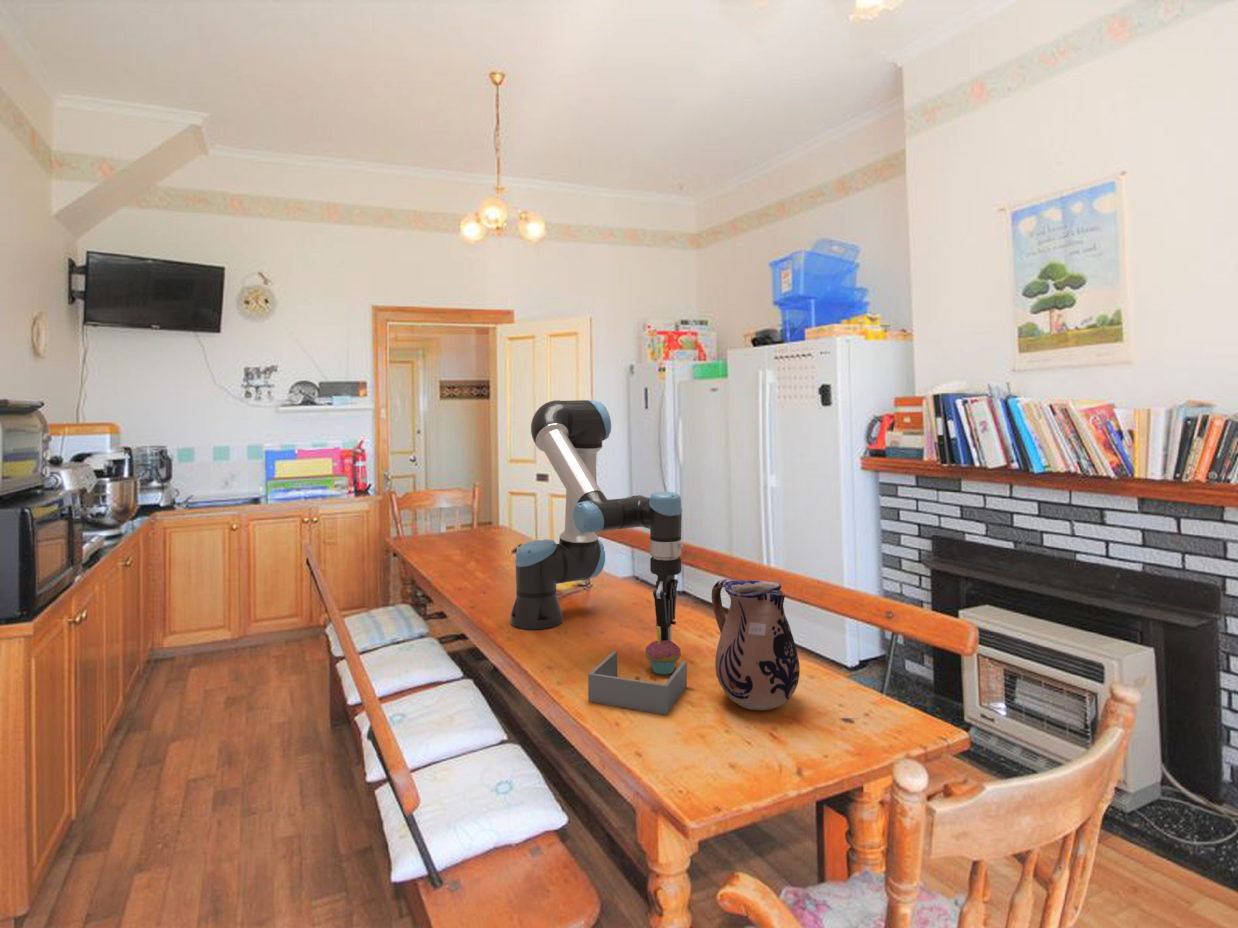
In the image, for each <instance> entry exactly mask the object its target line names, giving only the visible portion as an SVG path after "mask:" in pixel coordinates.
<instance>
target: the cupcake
mask: <svg viewBox="0 0 1238 928" xmlns="http://www.w3.org/2000/svg"><path fill="white" fill-rule="evenodd" d="M655 631H656V638H657V640H655V641H653V642H651V643H650V642H649V644H648V645H647V647H645V652H644V653H645V658H647V660H649V661H650V664H651V668H652V670H653V672H654V673H655V674H657V675H663V676H664V675H670V674H673V673H674V670H675V666H676V664H677V661H678V660H680V658H682V653H681V651H682V650H681V647H680V646H679V645H678V644H676V643H675V642H673V641H672V642H671V641H670V640H660V627H659V626H657V622H656V623H655Z"/></svg>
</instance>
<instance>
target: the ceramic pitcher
mask: <svg viewBox="0 0 1238 928" xmlns="http://www.w3.org/2000/svg"><path fill="white" fill-rule="evenodd" d="M723 588H724V591H725V592H726V594H727V595H728V596H729V598H730V606H729V610H728V613H727V616H726V615H725V611H724V608H723V603H722V602H723V601H722V596H721V593H722V592H721V591H722V589H723ZM781 588H782V584H781V583H778V582H776V581H766V580H765V581H764V580H762V579H761V580H757V579H754V580H753V579H749V580H732V579H728V578H723V579H721V580H719V581H717V582H716V583H715V584H714V585H713V586H712V589H711V604H712V609H713V610H712V611H713V613H714V616H715V620H716V623H717V626H718V629H719V632H720V636H719V640H718V644H717V647H716V653H715V663H714V664H715V673H716V674H715V675H716V677H717V680H718V683H719V685H720V686H721V688H722V690H723V691H724V693H725V694H726V696H727V697H728V698H729V699H730V700H731V701H732V702H733V703H736V704H737V705H738V706H739V707H741V708H743V709H747V710H750V711H769V710H773V709H776V708H779V707H781V706H783V704H785V703H786V702H787V701H789V699H791V698H792V696H793V695H794V693H795V692H796V690H797V687H798V684H799V680H800V669H801V668H800V660H799V654H798V651H797V647H796V643H795V639H794V636H793V633H792V630H791V627H790V624H789V621H788V619H787V616H786V613H785V609H784V601H785V598H786V594H785V592H784V591H782V590H781Z"/></svg>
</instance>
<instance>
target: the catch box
mask: <svg viewBox="0 0 1238 928" xmlns="http://www.w3.org/2000/svg"><path fill="white" fill-rule="evenodd" d="M587 684H588V685H587V687H588V688H587V689H588V691H587V693H588V694H587V696H588V700H587V701H588V702H590V703H595V704H602V705H608V706H611V707H612V706H613V707H618V708H624V709H631V710H635V711H636V710H637V711H642V712H648V713H653V714H654V713H655V714H660V715H664V716H665V715H666V716H668V714H669V713H670V711H671V710H672V709H673V707H674V706H675V704H676V703H678V702H677V701H678V700H679V699H680V697H681V696H682V695H683V693H684V692H685V690H687V688H688V661H687V660H683V661H682V662H681V664H679V666H678V667H677V668H676V669H675V671H673V672H672V675H670V677H668V680H667V681H666V682H665V683H656V682H653V681H651V682H650V681H647V680H646V681H645V680H639V679H631V678H625V677H620V676H619V677H618V651H617V650H613V651H612V652H611V653H610V654H609V655H608V656H606V658H605V659H604V660H602V661H601V662H600V663H599V664H598V665H597V666H595V668H593V669H592V670H591V671H590V672H589V673H588V674H587Z"/></svg>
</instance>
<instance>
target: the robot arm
mask: <svg viewBox="0 0 1238 928" xmlns="http://www.w3.org/2000/svg"><path fill="white" fill-rule="evenodd" d="M611 432H612V421H611V416H610V414H609V411H608V409H607V408H606V405H604V404H603V403H602V402H600V401H597V400H588V399H587V400H586V399H580V400H579V399H578V400H576V399H575V400H557V399H556V400H551V401H548V402H545V403H543V404H542V405H541V406H539V408H538V409H537V410H536V411H535V413H534V414H533V417H532V420H531V423H530V434H531V437H532V440H533V442H534V444H535V446H536V448H537V449H539V450H540V451H541V452H544V454H545V455H546V457H547V459H548V461H549V462H550V464H551V466H552V467H553V470H554V471H555V472H556V474H557V476H558V478H559V480H560V482H561V483H562V485H563V486H564V488H565V513H564V515H565V516H564V531H563V532H561V533H560V535H559V540H558V541H559V542H558V543H556V541H555V540H554V539H553V540H552V539H536V540H532V541H528V542H525V543H523V544H521V545H520V546H519V547H518V548H517V549H516V552H515V561H514V565H515V583H516V584H515V585H516V587H515V588H516V589H515V590H516V597H515V600H514V604H513V606H512V610H511V614H510V624H511V625H512V626H513V627H515V628H518V629H523V630H545V629H551V628H555V627H557V626H559V625H561V624H562V623H563V620H564V617H563V616H564V615H563V610H562V607H561V605H560V601H559V598H558V596H557V585H558V584H564V583H571V582H578V581H587V580H588V579H593V578H597V577H598V576H599V575H600V574H601V573H602V571H603V570H604V566H605V564H606V551H605V546H604V544H603V543H602V541H601V540H600V539H599V535H597V534H596V533H600V532H606V531H614V530H624V529H633V528H634V529H635V528H645V529H649V530H650V531H649V534H650V535H649V537H650V539H649V555H650V556H651V557H650V559H649V561H650V562H649V565H650V566H649V567H650V569H649V570H650V573H651V574H653V575H656V576H657V579H656V581H655V588H656V589H655V590H653V591H652V596H653V600H654V609H655V619H656V621H655V622H656V623H657V626H659V633H660V640H670V641H671V642H673V625H676V624H677V621H675V619H676V609H677V608H676V606H677V591H678V590H677V589H678V583H679V581H678V580H679V579H676V577H675V576H677V575H679V574H681V573H682V557H680V556H681V555H682V548H684V543H682V516H683V515H682V512H683V509H682V497H681V495H680V494H679V493H677V492H670V491H658V492H653V493H651V494H650V497H647V496H644V495H641V494H638V495H635V494H634V495H633V494H631V495H628V496H627V497H624V498H622V497H621V498H613V499H608V498H607V497H606V495H605V494H604V492H603V491H602V489H601V488H600V486H599V485H598V483H597V482H596V481H597V480H596V477H597V455H598V452H600V450H601V449H602V448H603V441H605V440H607V439H609V438H610V434H611Z"/></svg>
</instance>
